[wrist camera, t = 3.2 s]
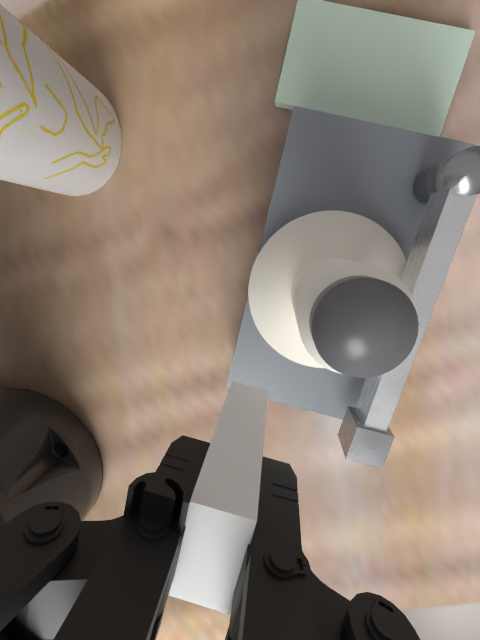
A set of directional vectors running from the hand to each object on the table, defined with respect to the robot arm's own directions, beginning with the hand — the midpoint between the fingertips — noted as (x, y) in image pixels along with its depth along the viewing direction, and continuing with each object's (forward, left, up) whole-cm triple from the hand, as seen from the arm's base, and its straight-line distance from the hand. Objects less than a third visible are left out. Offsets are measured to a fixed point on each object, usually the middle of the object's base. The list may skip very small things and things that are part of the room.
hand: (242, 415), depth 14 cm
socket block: (+4, +6, -13) cm, 15 cm away
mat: (+3, +19, -13) cm, 23 cm away
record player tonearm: (+7, +5, -8) cm, 12 cm away
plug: (+3, +5, -13) cm, 14 cm away
